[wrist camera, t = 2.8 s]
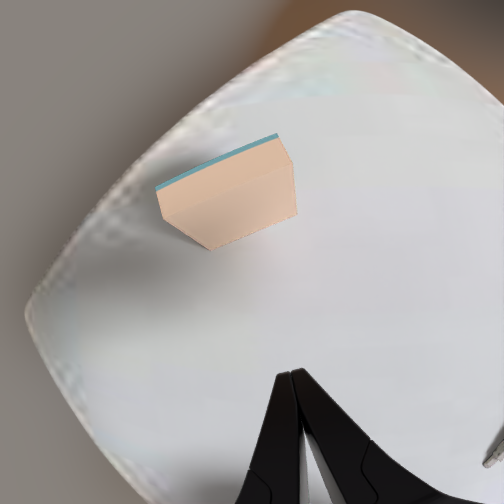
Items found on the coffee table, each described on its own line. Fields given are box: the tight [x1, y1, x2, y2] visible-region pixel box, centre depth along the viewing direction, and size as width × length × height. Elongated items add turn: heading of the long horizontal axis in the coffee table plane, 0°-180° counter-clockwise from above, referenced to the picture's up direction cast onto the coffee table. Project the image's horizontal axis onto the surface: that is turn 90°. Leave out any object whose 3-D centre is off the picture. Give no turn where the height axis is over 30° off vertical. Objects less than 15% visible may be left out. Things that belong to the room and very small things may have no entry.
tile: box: [155, 133, 297, 251], centre depth 18 cm, size 2×7×8 cm, turn 111°
